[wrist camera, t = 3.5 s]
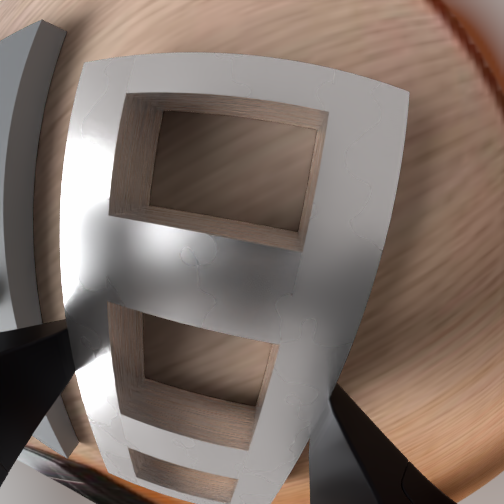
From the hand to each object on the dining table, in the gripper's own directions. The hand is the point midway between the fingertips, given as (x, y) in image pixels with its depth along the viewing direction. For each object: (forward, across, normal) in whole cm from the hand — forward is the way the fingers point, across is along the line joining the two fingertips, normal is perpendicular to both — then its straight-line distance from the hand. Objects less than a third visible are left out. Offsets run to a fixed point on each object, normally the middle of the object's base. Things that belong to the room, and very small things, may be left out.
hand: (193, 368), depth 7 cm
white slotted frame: (+1, 0, 0) cm, 1 cm away
